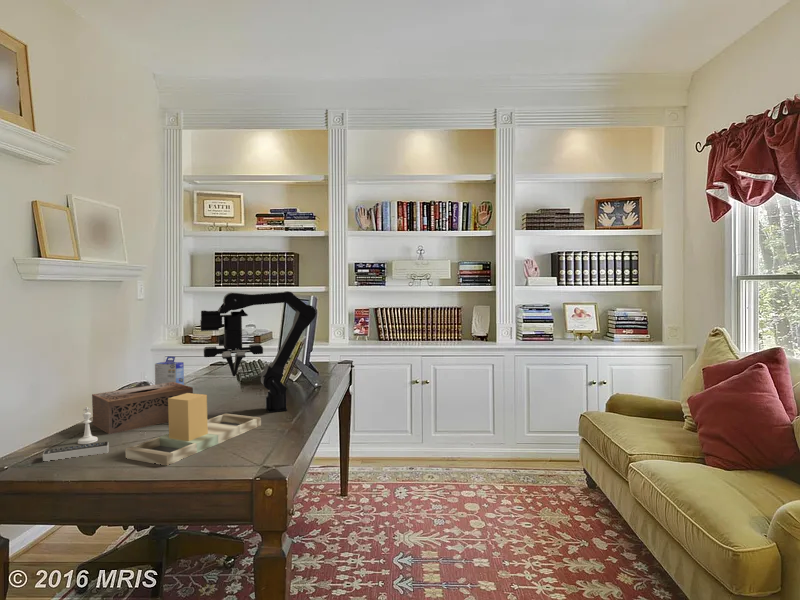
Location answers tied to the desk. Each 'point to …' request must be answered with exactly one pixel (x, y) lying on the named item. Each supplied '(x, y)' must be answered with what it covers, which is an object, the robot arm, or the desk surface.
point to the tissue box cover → (134, 406)
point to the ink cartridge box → (169, 372)
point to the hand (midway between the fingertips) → (234, 376)
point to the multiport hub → (76, 451)
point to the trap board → (175, 450)
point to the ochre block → (187, 416)
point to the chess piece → (87, 429)
